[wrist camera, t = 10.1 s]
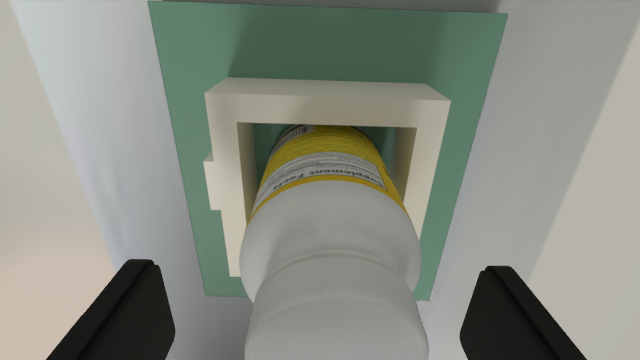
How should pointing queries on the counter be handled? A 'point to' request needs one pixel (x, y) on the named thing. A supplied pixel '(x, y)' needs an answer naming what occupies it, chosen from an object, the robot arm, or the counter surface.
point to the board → (319, 106)
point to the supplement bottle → (330, 254)
